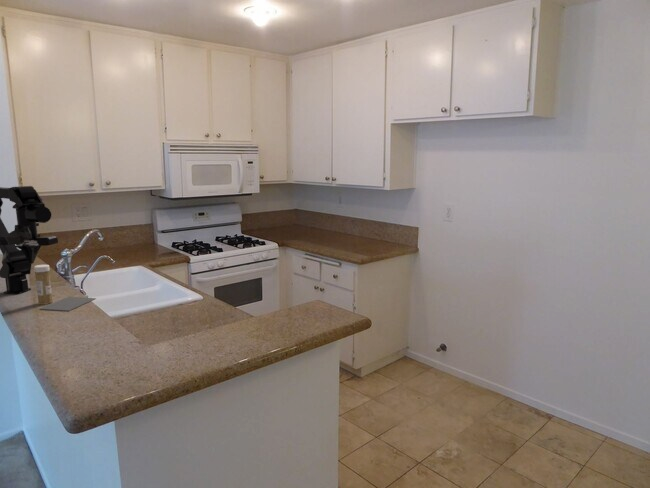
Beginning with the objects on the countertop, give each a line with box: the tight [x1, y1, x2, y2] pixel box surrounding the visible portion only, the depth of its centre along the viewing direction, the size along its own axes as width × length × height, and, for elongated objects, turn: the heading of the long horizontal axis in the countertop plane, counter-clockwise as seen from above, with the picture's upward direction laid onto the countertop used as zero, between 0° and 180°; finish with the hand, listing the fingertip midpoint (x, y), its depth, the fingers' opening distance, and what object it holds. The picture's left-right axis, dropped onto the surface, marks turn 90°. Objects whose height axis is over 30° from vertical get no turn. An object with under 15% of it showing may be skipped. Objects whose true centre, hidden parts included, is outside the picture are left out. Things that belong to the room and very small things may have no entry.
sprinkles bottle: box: [33, 264, 54, 305], centre depth 162 cm, size 5×5×14 cm
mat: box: [39, 296, 97, 312], centre depth 162 cm, size 11×14×1 cm
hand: (31, 263), depth 170 cm, fingers closed
